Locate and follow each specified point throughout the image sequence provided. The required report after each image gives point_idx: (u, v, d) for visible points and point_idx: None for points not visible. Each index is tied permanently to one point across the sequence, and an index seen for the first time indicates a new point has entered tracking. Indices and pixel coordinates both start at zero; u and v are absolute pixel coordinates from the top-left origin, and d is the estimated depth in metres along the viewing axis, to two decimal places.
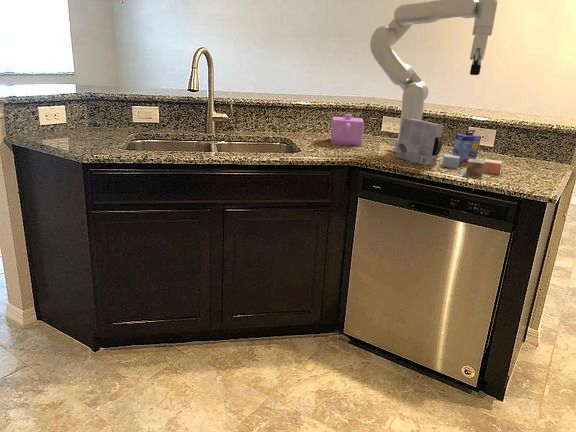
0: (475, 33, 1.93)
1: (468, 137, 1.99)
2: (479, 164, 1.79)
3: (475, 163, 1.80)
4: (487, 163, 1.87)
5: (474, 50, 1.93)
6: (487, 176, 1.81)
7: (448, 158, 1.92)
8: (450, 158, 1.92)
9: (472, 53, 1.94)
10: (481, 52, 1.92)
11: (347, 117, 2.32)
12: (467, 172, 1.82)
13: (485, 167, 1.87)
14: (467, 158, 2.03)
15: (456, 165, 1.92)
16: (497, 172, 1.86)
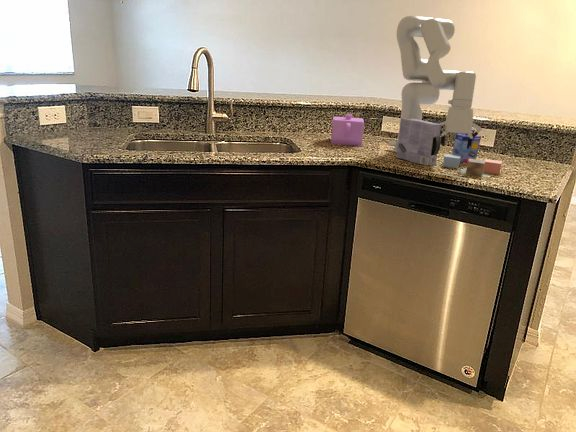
0: (468, 107, 1.84)
1: (468, 137, 1.99)
2: (479, 164, 1.79)
3: (475, 163, 1.80)
4: (487, 163, 1.87)
5: (472, 124, 1.86)
6: (487, 176, 1.81)
7: (449, 158, 1.92)
8: (451, 158, 1.91)
9: (471, 127, 1.86)
10: None
11: (347, 117, 2.32)
12: (467, 172, 1.82)
13: (485, 167, 1.87)
14: (467, 158, 2.03)
15: (457, 165, 1.91)
16: (497, 172, 1.86)
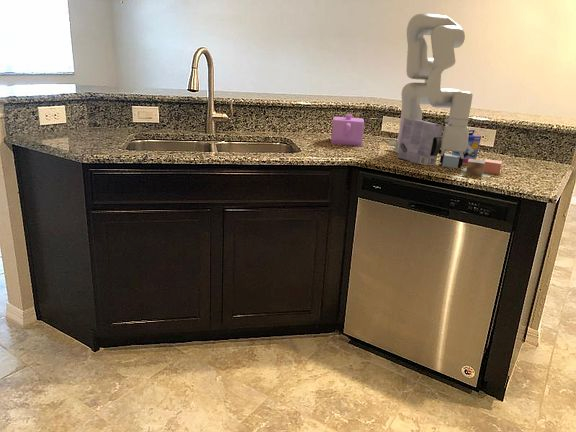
0: (464, 126, 1.87)
1: (468, 137, 1.99)
2: (479, 164, 1.79)
3: (475, 163, 1.80)
4: (487, 163, 1.87)
5: (467, 143, 1.89)
6: (487, 176, 1.81)
7: (448, 158, 1.92)
8: (450, 158, 1.92)
9: (466, 146, 1.89)
10: None
11: (348, 117, 2.32)
12: (467, 172, 1.82)
13: (485, 167, 1.87)
14: (467, 158, 2.03)
15: (456, 165, 1.91)
16: (497, 172, 1.86)
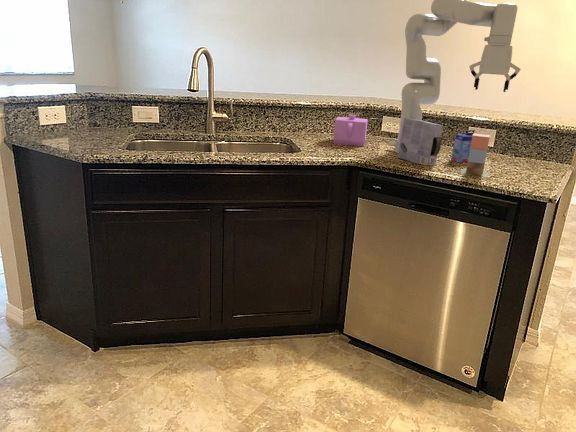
0: (507, 44, 1.65)
1: (468, 137, 1.99)
2: (479, 164, 1.79)
3: (475, 163, 1.80)
4: (474, 137, 1.77)
5: (510, 64, 1.67)
6: (487, 176, 1.81)
7: (475, 151, 1.78)
8: (477, 151, 1.78)
9: (509, 68, 1.67)
10: None
11: (351, 117, 2.32)
12: (467, 172, 1.82)
13: (472, 141, 1.78)
14: (467, 158, 2.03)
15: (484, 158, 1.78)
16: (485, 146, 1.77)
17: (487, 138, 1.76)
